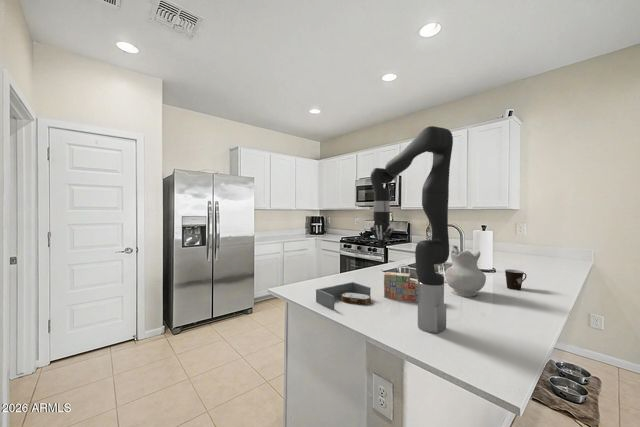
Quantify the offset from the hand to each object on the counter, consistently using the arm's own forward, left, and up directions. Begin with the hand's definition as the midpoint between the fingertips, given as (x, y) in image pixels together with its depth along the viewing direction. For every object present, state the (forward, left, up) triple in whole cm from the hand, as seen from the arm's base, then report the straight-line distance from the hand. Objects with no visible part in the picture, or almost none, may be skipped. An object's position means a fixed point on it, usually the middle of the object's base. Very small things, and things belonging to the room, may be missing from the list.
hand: (381, 247), depth 127 cm
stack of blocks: (-1, -17, -27) cm, 32 cm away
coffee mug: (-27, -83, -27) cm, 91 cm away
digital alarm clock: (+8, +10, -25) cm, 29 cm away
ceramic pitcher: (-13, -50, -27) cm, 58 cm away
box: (+14, +11, -27) cm, 33 cm away
